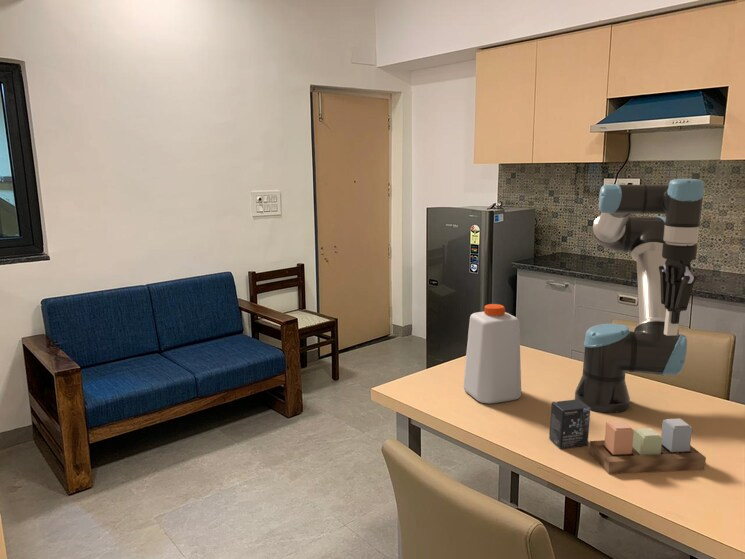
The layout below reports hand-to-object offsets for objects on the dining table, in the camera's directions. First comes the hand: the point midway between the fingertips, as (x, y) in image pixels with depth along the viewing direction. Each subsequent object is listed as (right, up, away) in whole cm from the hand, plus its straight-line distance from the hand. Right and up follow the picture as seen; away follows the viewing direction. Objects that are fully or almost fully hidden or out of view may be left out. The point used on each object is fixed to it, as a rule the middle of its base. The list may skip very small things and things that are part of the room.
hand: (670, 334), depth 146 cm
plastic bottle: (-39, -22, +32) cm, 55 cm away
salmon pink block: (-18, -26, -10) cm, 33 cm away
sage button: (-10, -28, -9) cm, 31 cm away
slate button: (-3, -26, -9) cm, 28 cm away
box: (-26, -28, +1) cm, 38 cm away
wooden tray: (-10, -29, -8) cm, 32 cm away
